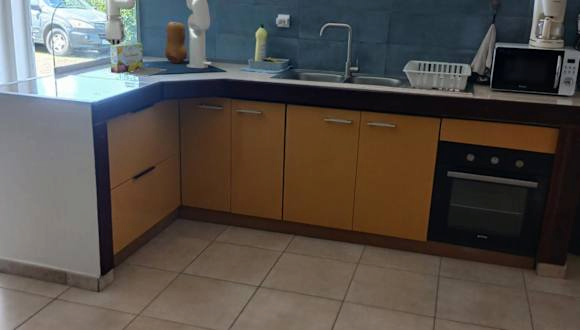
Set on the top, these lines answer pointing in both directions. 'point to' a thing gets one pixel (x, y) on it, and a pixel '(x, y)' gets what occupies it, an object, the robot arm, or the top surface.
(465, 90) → the top surface
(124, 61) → the snack box
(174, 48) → the butternut squash
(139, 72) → the mat
